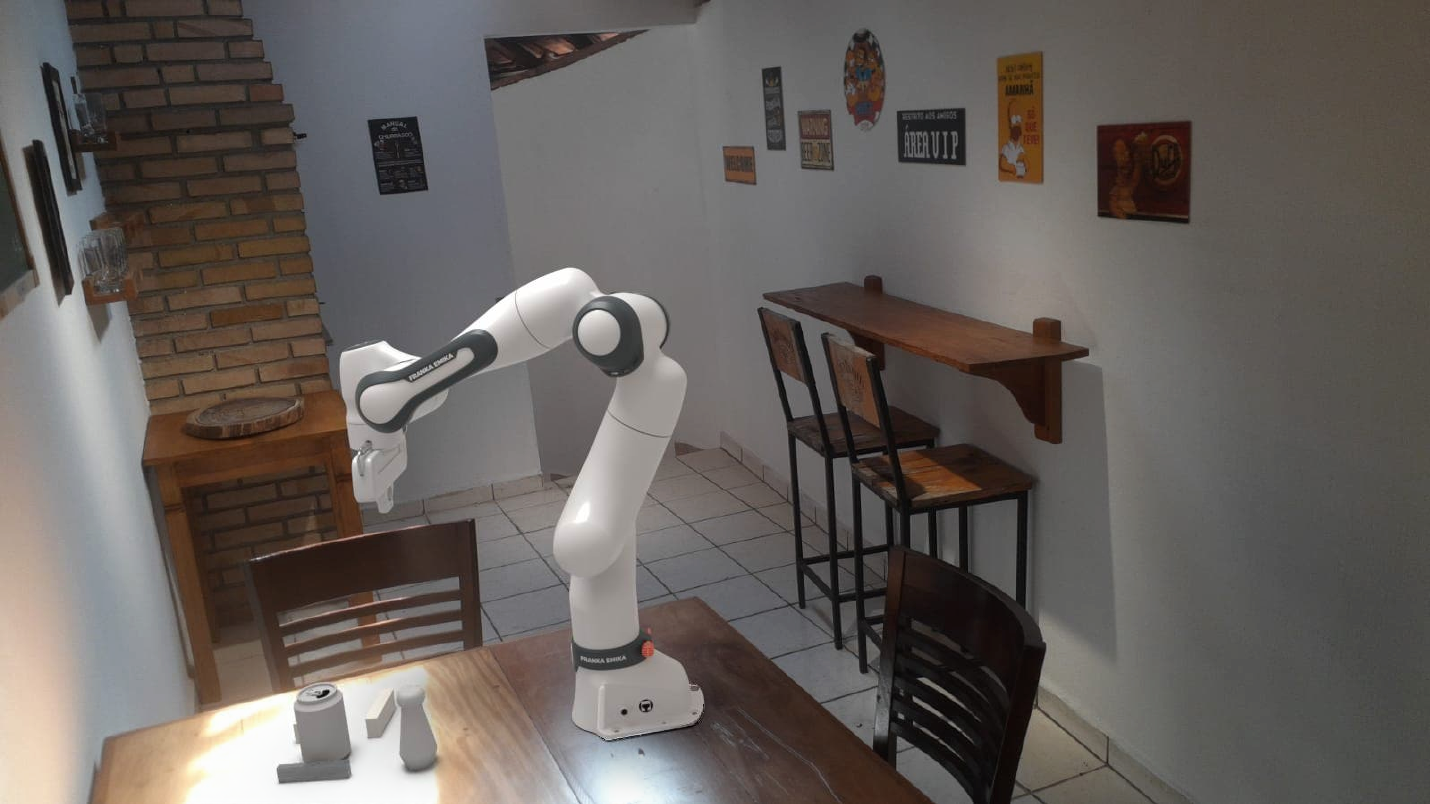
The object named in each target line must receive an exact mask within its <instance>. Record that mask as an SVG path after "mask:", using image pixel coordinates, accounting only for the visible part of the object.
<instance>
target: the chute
mask: <svg viewBox="0 0 1430 804" xmlns="http://www.w3.org/2000/svg"><path fill="white" fill-rule="evenodd" d="M396 708H397V702H396V698H395V691H394V688H391V689H381V691H380V693H379V694H378V696H377V698H376V699H375V700H374V703H373V705H372V707H371V708H370V710H369V711H368V713H367V715H366V717H365V719H364V721H365V725H366V726H365V728H366V735H367V738H368V739H373V738H375V739H376V738H381V736H382V734H383V732H385V728H386V727H387V725H388V723H389V721H390V719H391V717H392V715H393V713H394V712H395V710H396ZM292 725H293V731H294V738H295V743H296V744H300V741H299V735H298V729H297V723H296V720H295V721H294V722H293V724H292Z"/></svg>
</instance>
